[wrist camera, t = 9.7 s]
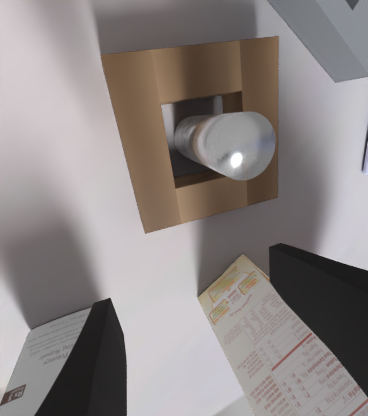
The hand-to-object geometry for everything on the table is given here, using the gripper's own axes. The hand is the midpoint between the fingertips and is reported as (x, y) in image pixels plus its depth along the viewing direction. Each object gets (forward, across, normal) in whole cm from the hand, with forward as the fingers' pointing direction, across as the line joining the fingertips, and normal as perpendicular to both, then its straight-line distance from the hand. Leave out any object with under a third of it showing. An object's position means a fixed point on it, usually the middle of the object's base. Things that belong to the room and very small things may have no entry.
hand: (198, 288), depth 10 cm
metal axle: (+10, -4, -5) cm, 12 cm away
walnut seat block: (+10, -4, -5) cm, 12 cm away
